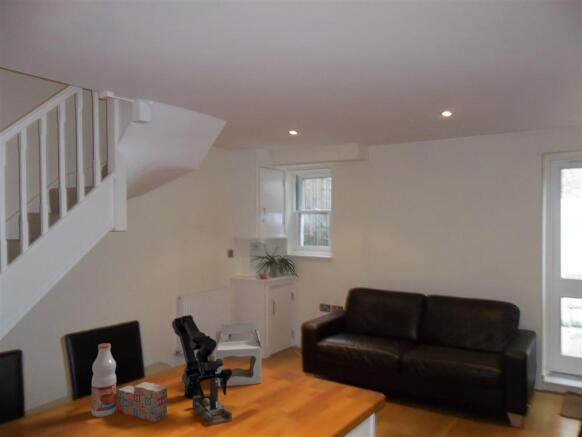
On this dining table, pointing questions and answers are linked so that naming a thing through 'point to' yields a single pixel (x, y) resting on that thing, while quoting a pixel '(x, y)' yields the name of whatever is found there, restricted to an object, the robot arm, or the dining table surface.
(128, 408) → the stack of blocks
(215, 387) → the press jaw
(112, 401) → the fruit juice
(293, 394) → the dining table surface
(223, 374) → the robot arm
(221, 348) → the gable box
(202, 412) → the press base
